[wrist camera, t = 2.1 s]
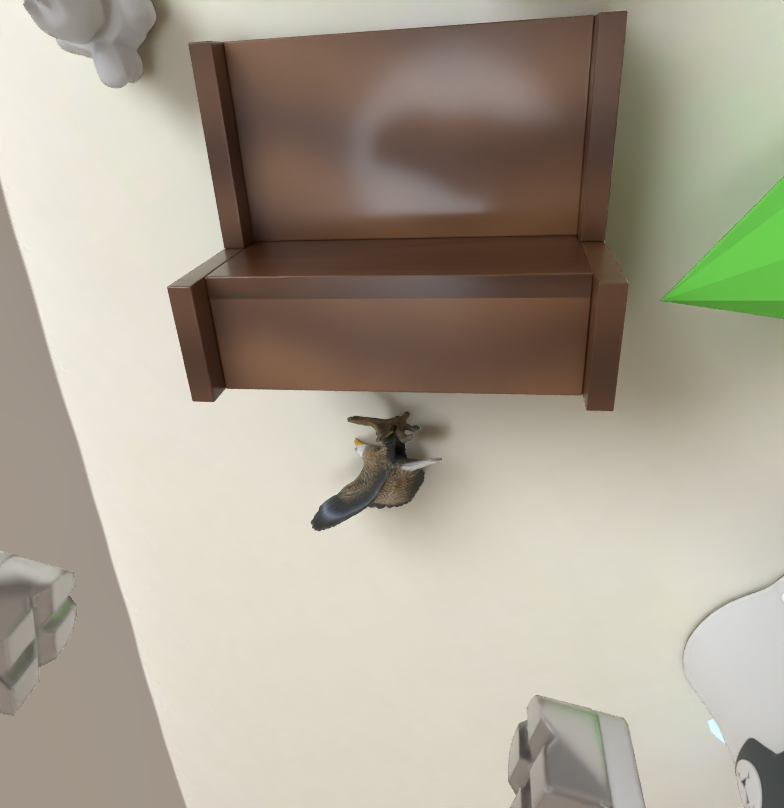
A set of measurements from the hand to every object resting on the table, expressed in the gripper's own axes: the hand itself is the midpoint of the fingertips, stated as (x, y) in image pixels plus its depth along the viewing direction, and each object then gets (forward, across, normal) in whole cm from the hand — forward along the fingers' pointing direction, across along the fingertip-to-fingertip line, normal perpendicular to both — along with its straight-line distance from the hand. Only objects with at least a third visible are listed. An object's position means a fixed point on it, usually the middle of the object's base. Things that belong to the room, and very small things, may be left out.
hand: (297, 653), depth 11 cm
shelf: (+31, +2, -2) cm, 31 cm away
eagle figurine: (+31, 0, +16) cm, 35 cm away
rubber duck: (+31, +20, -7) cm, 37 cm away
